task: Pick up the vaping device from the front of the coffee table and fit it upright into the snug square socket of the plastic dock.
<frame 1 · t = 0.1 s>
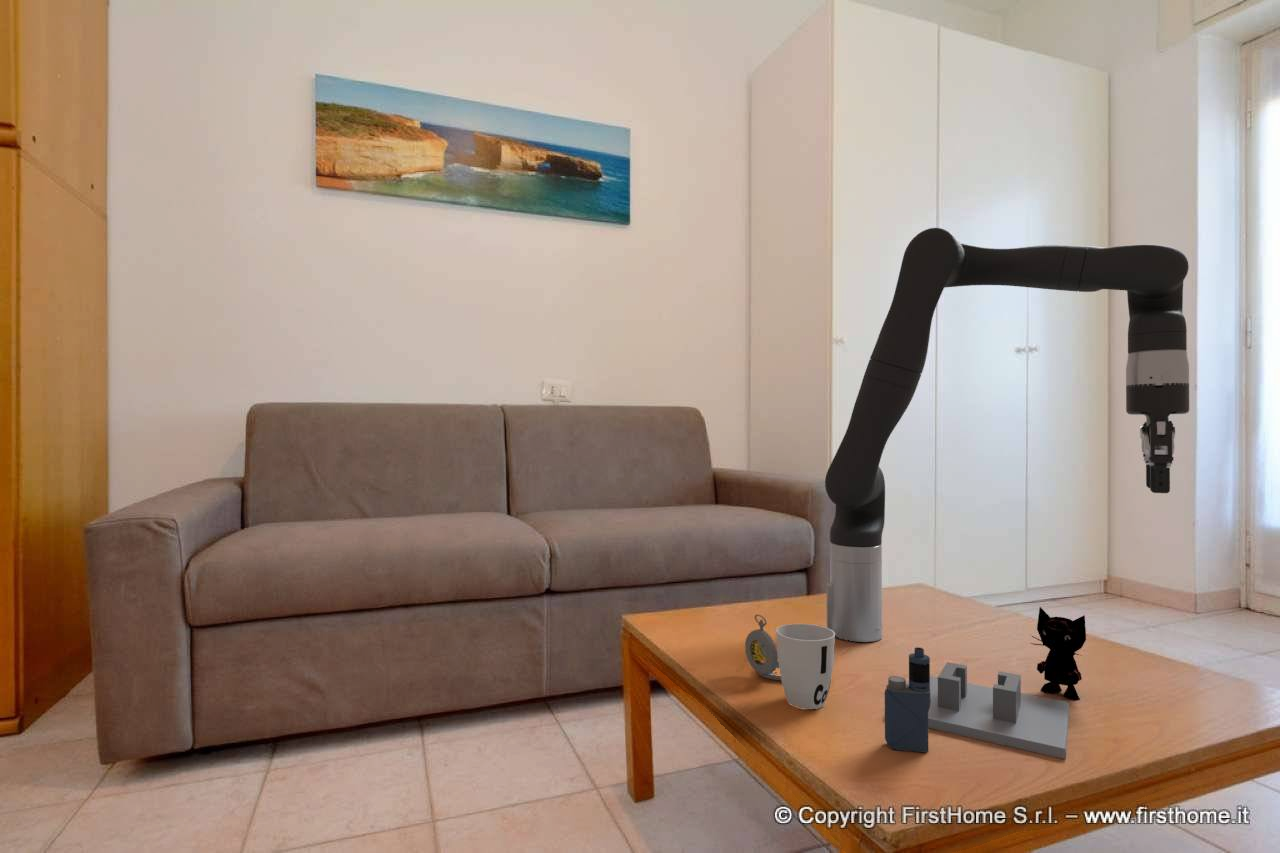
hand: (1157, 490, 100), 29 cm above the table, tool pointing down, fingers open, 8 cm apart
cat figurine: (1062, 694, 98), on the table
dock: (979, 714, 90), on the table
pocket watch: (771, 677, 105), on the table
vaping device: (907, 748, 81), on the table
cup: (805, 703, 95), on the table
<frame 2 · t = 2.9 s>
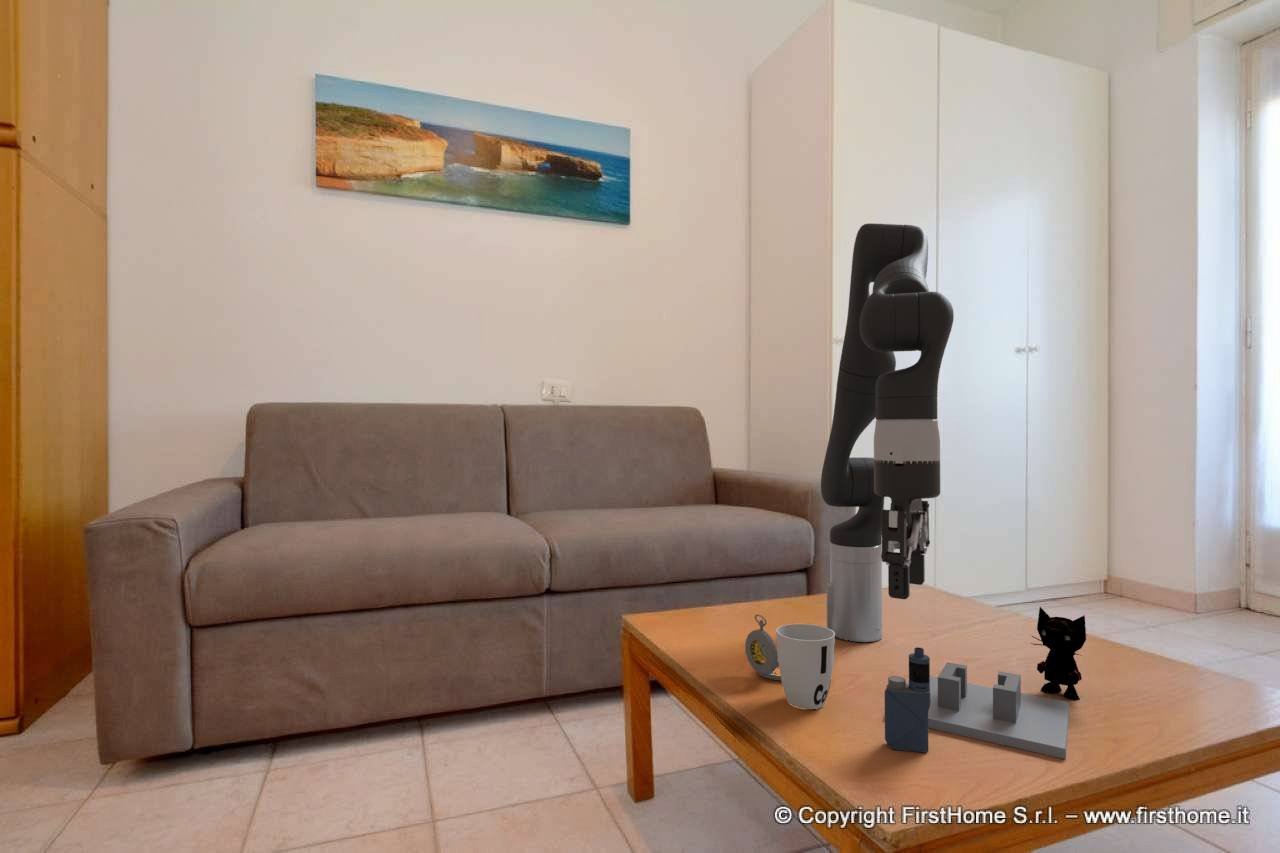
hand: (907, 590, 81), 19 cm above the table, tool pointing down, fingers open, 8 cm apart
nothing on the table moved.
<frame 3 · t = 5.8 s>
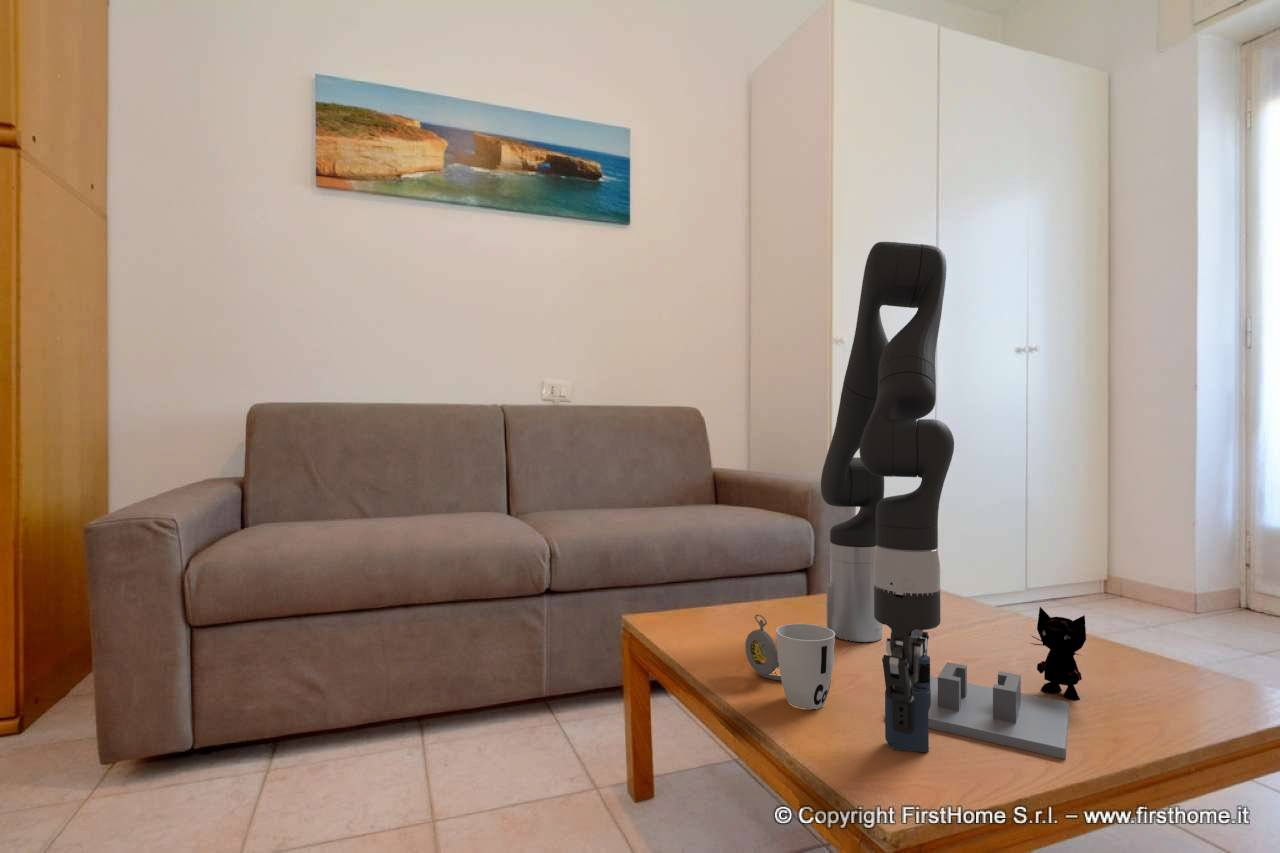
hand: (907, 725, 81), 3 cm above the table, tool pointing down, fingers closed on vaping device, 3 cm apart
vaping device: (908, 748, 81), on the table, touching gripper
everything else where it was.
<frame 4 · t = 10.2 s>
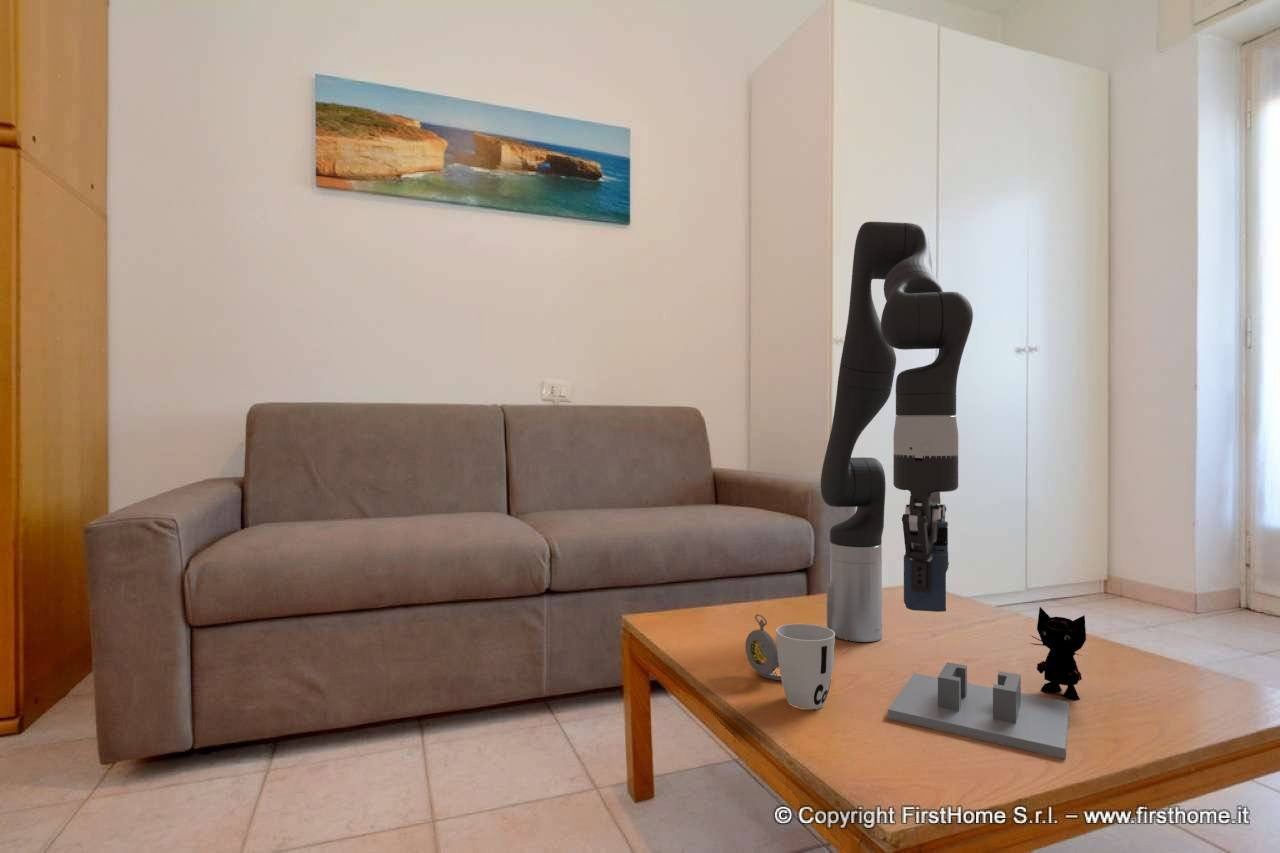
hand: (925, 587, 84), 19 cm above the table, tool pointing down, fingers closed on vaping device, 3 cm apart
vaping device: (925, 610, 85), point 16 cm above the table, touching gripper
everything else where it was.
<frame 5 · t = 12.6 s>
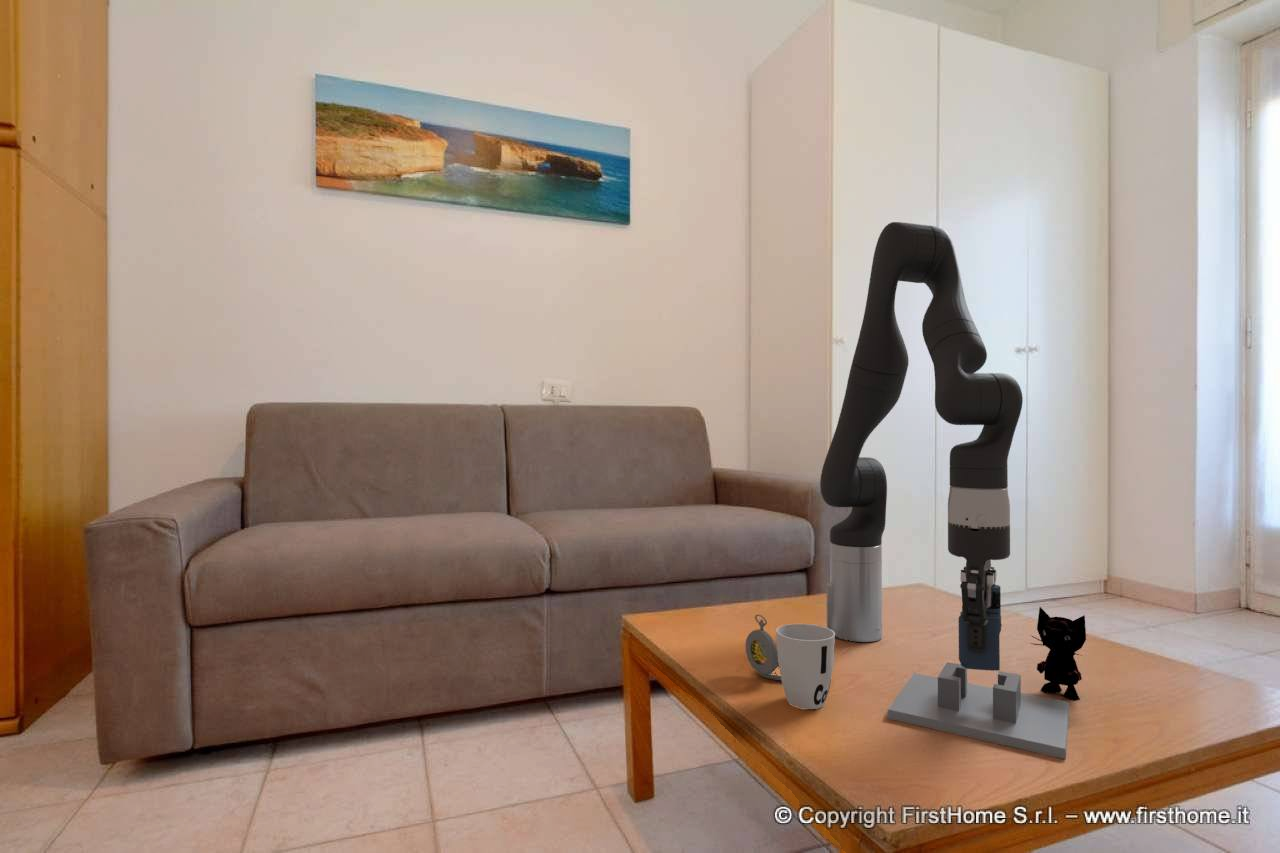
hand: (978, 647, 90), 9 cm above the table, tool pointing down, fingers closed on vaping device, 3 cm apart
vaping device: (980, 668, 91), point 6 cm above the table, touching gripper
everything else where it was.
when the fingers open (4 cm above the table, at t = 14.6 s): vaping device stays where it is, resting on dock.
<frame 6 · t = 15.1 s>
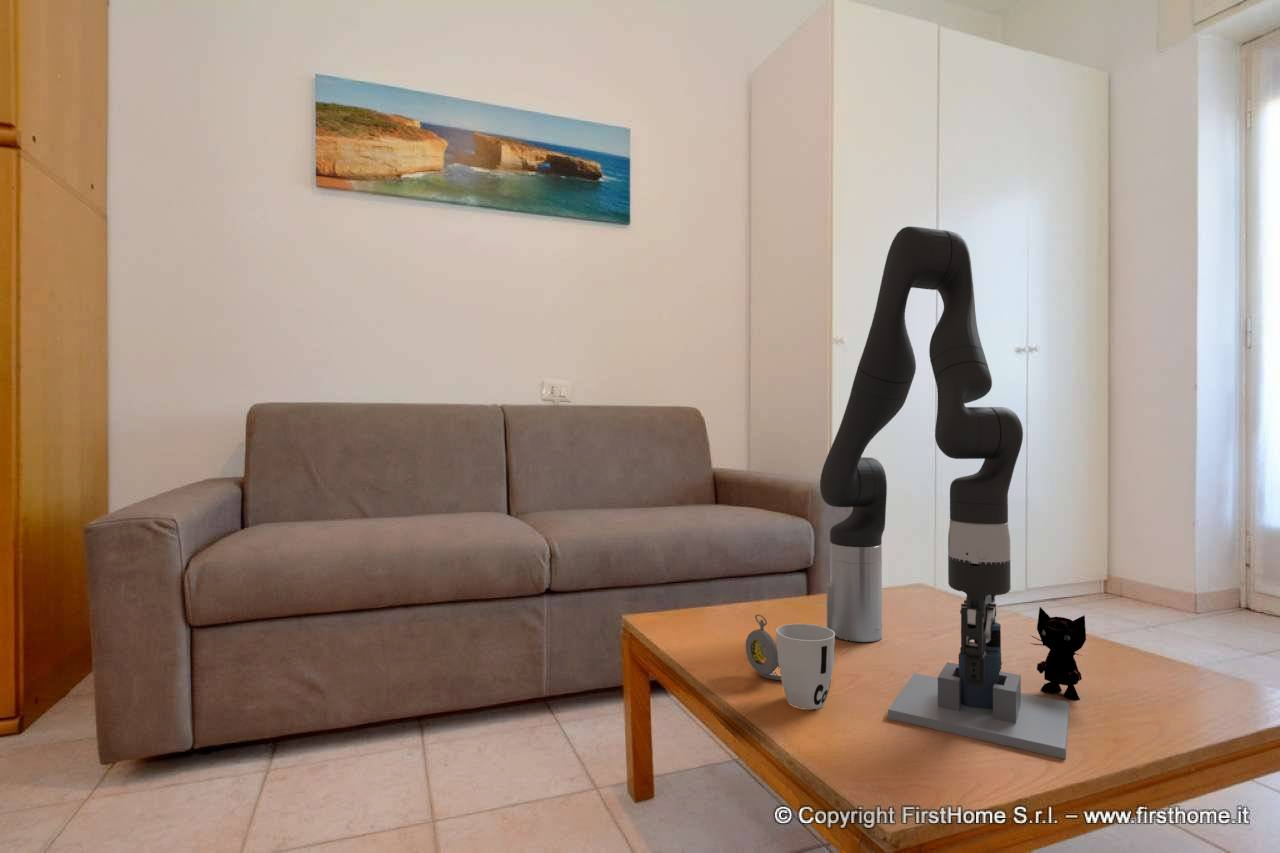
hand: (979, 675, 90), 5 cm above the table, tool pointing down, fingers open, 8 cm apart
vaping device: (980, 706, 91), point 1 cm above the table, touching dock
everything else where it was.
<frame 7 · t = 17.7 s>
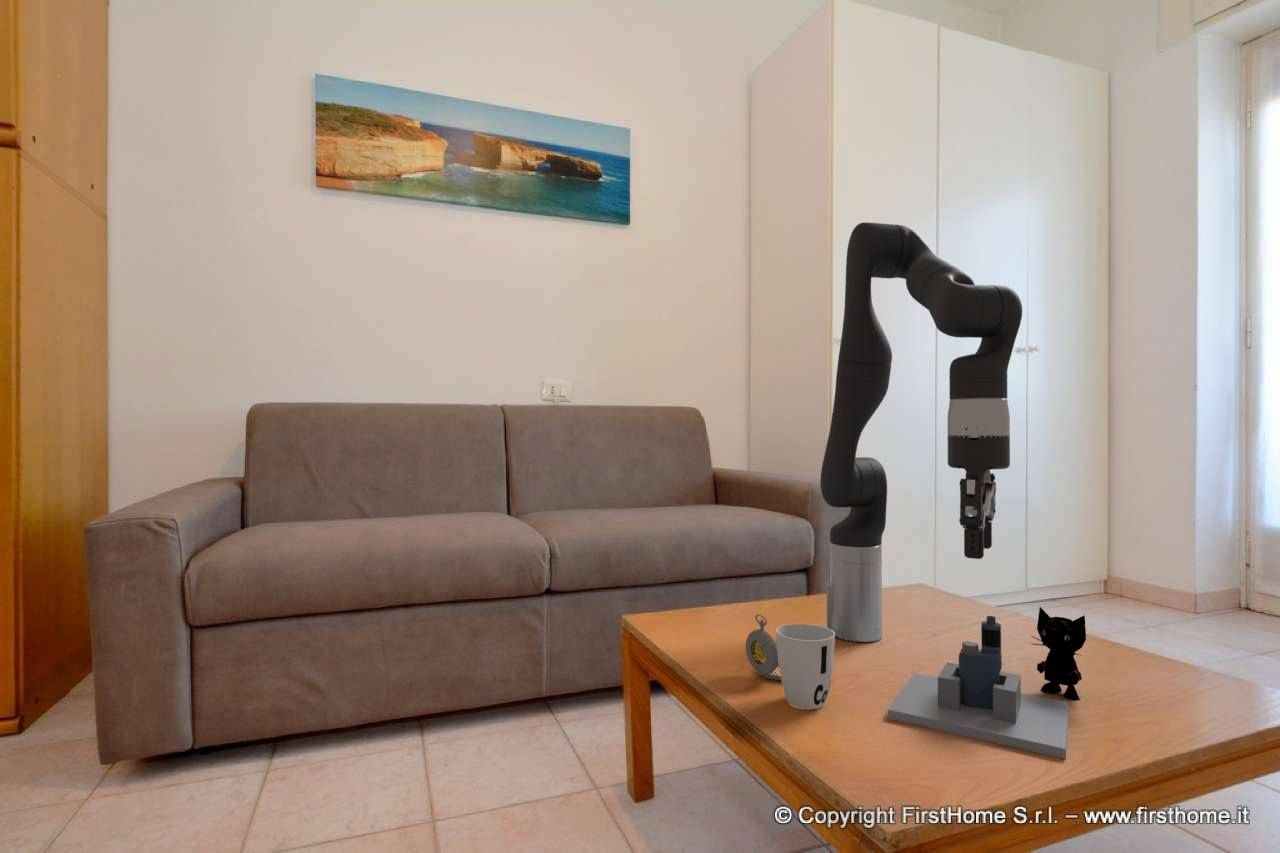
hand: (978, 552, 90), 22 cm above the table, tool pointing down, fingers open, 8 cm apart
nothing on the table moved.
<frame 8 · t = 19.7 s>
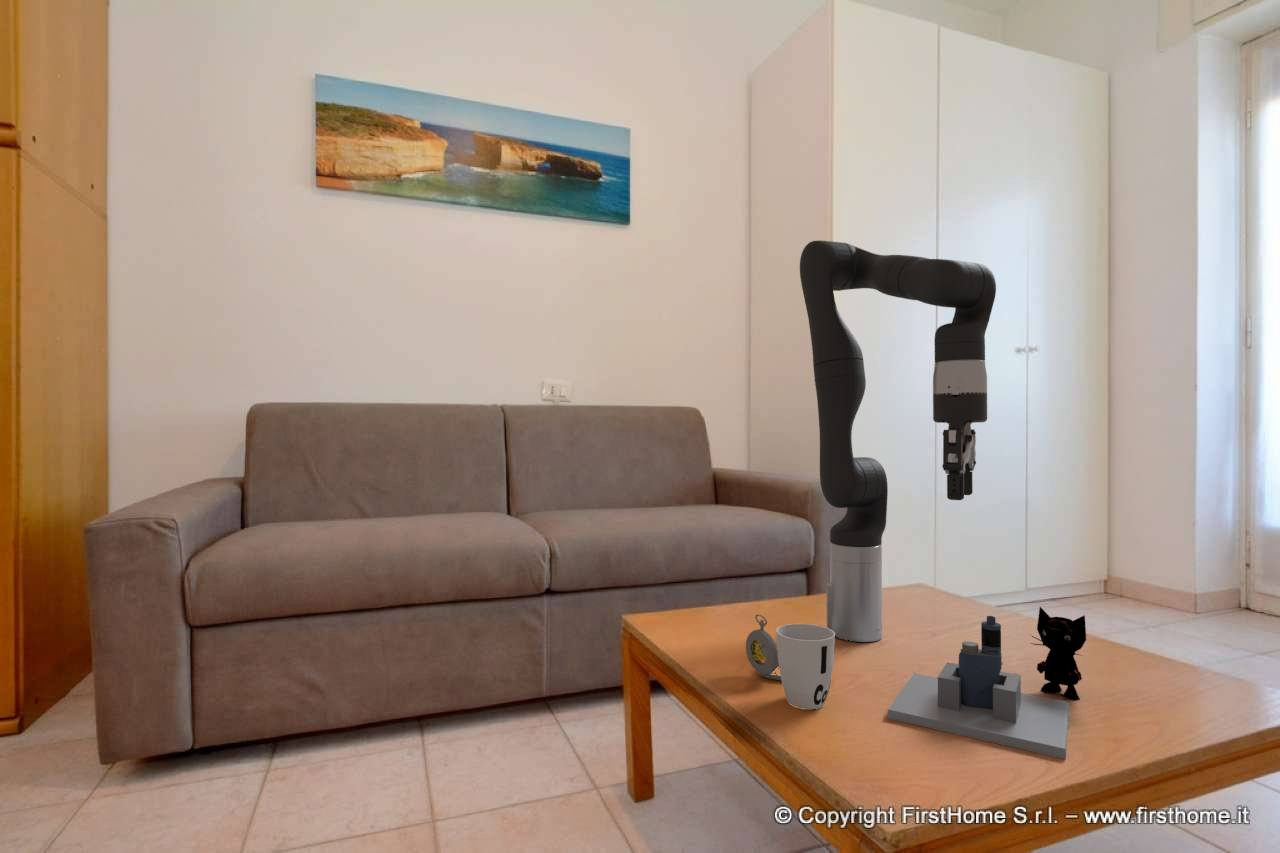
hand: (960, 497, 103), 28 cm above the table, tool pointing down, fingers open, 8 cm apart
nothing on the table moved.
at the end: vaping device 0.4 cm off-centre on the dock, point 1.0 cm above the dock's base; vaping device tilted 0°; the gripper is holding nothing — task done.
